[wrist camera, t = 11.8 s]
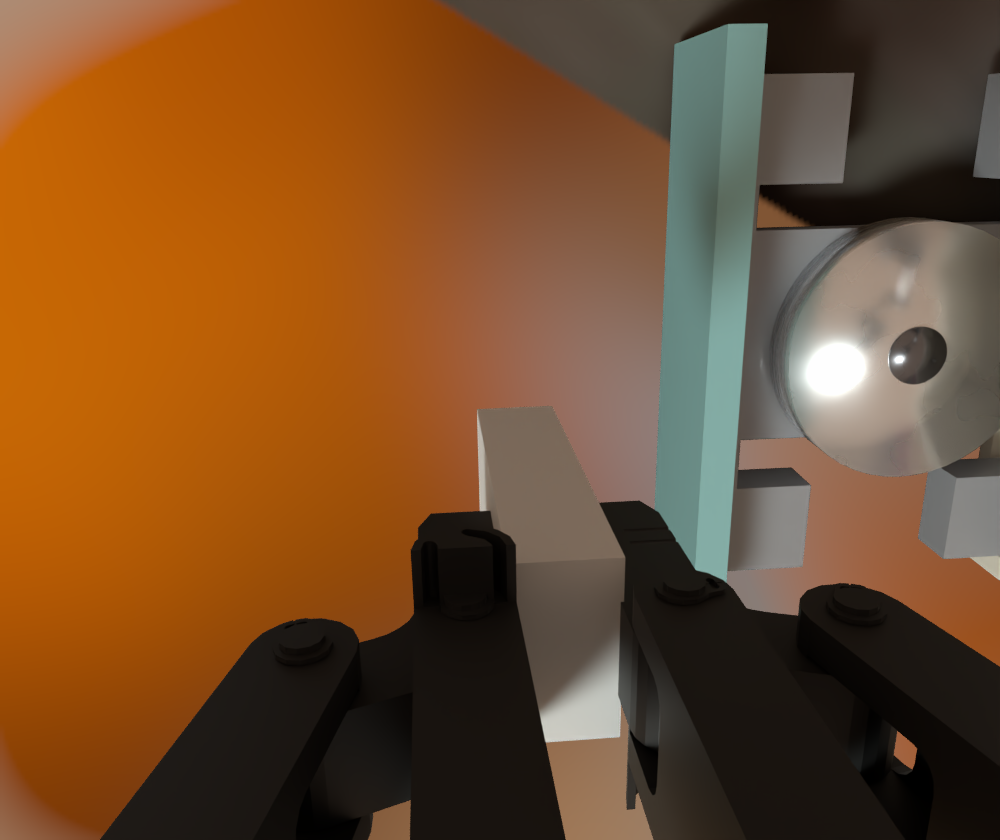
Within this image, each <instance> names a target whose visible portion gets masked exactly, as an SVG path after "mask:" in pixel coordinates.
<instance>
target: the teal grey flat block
mask: <svg viewBox="0 0 1000 840" xmlns="http://www.w3.org/2000/svg"><path fill="white" fill-rule="evenodd" d="M767 29H768V24H727V25H724V26H721V27H719V28H716V29H714V30H711V31H708V32H706V33H703V34H700V35H698V36H695V37H693V38H690V39H687V40H685V41H682V42H679V43H677V44H675V48H674V71H673V94H672V118H671V141H670V164H669V165H670V166H669V188H668V211H667V234H666V258H665V280H664V305H663V327H662V350H661V351H662V352H661V373H660V397H659V420H658V445H657V467H656V490H655V510H656V511H657V512H659V513H660V515H661V516H662V518H663V519H664V521H665V522H666V524H667V526H668V529H669V530H671V532H672V533H673V535H674V537H675V538H676V542H678V543H679V544H680V546H681V548H682V549H683V551H684V552H685V554H686V556H687V557H688V559H689V560H690V562H691V563H692V565H693V567H694V568H695V570H697V571H702V572H706V573H709V574H711V575H713V576H716V577H718V578H720V579H722V580H724V581H725V582H726V580H727V579H726V578H727V571H736V570H755V569H772V568H788V567H789V568H790V567H802V565H803V556H804V555H803V554H804V546H805V537H806V536H805V535H806V527H807V517H808V508H809V499H810V498H809V497H810V489H811V485H810V484H809V483H808V482H807V481H805V480H804V479H803V478H802V477H801V476H800V475H799V474H798V473H797V472H796V471H795V470H793V469H792V468H773V469H772V468H771V469H750V470H738V465H739V452H740V440H753V439H775V438H796V437H804V436H803V435H802V434H801V433H800V432H799V431H798V430H797V429H796V428H795V427H794V426H793V424H792V423H791V422H790V421H789V420H788V418H787V417H786V415H785V413H784V412H783V410H782V408H781V407H780V404H779V402H778V400H777V397H776V395H775V392H774V388H773V384H772V380H771V374H770V365H769V357H770V342H771V336H772V330H773V327H774V323H775V320H776V316H777V314H778V311H779V309H780V306H781V304H782V302H783V300H784V298H785V296H786V294H787V292H788V291H789V289H790V287H791V285H792V284H793V282H794V281H795V280H796V278H797V277H798V276H799V274H800V273H801V271H802V270H803V269H804V268H805V267H806V266H807V265H808V264H809V263H810V262H811V260H812V259H813V258H814V257H815V256H817V255H818V254H819V253H820V252H821V251H822V250H824V249H825V248H826V247H827V246H828V245H830V244H831V243H833V242H834V241H836V240H837V239H839V238H840V237H842V236H844V235H845V234H847V233H849V232H851V231H853V230H855V229H857V228H859V227H862V226H865V225H845V226H808V227H772V228H757V214H758V213H757V212H758V201H759V188H760V185H779V184H821V183H843V176H844V167H845V157H846V148H847V138H848V129H849V119H850V110H851V100H852V91H853V81H854V73H808V74H764V69H765V56H766V42H767ZM973 177H982V178H996V179H1000V73H996V74H988V80H987V87H986V93H985V100H984V106H983V113H982V120H981V126H980V133H979V139H978V146H977V153H976V159H975V166H974V172H973ZM955 223H958V224H963V225H969V226H972V227H974V228H977V229H980V230H983V231H985V232H987V233H989V234H991V235H992V236H994V237H996V238H998V239H999V240H1000V221H992V222H955ZM918 539H920V540H921V541H922V542H923V543H925V544H926V545H927V546H928V547H929V548H931V549H932V550H933V551H934V552H936V553H937V554H938V555H939V556H940V557H942V558H943V559H950V558H967V557H986V556H1000V458H980V459H959V460H957V461H955V462H953V463H951V464H949V465H947V466H944V467H941V468H939V469H936V470H933V471H930V472H928V476H927V482H926V489H925V496H924V502H923V509H922V515H921V522H920V529H919V535H918Z"/></svg>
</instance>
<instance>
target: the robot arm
mask: <svg viewBox="0 0 1000 840" xmlns="http://www.w3.org/2000/svg"><path fill="white" fill-rule="evenodd" d="M477 425H478V458H479V459H478V460H479V493H480V494H479V496H480V511H474V512H455V513H436V514H430V515H429V516H428V518H427V519H426V520H425V521H424V522H423V523H422V524H421V525H420V526H419V528H418V540H416V541H415V543H414V545H413V547H412V549H411V562H412V580H413V599H414V615H413V616H412V617H411V619H410V620H409V621H408V622H407V623H405V624H404V625H403V626H402V627H400V628H399V629H397V630H395V631H393V632H391V633H389V634H387V635H384V636H381V637H378V638H375V639H372V640H368V641H364V642H360V643H359V639H358V637H357V635H356V634H355V632H354V630H353V629H352V628H350V627H348V626H346V625H345V624H343V623H341V622H337V621H333V620H327V619H322V618H321V619H308V618H305V619H298V620H295V621H293V620H292V621H289V622H286V623H283V624H281V625H278V626H276V627H274V628H272V629H270V630H268V631H266V632H264V633H262V634H261V635H260V636H259V637H258V638H257V639H255V640H254V641H253V642H252V643H251V644H250V645H249V647H248V648H247V649H246V650H245V652H244V653H243V654H242V656H241V657H240V658H239V659H238V661H237V662H236V663H235V665H234V666H233V667H232V669H231V670H230V671H229V672H228V674H227V675H226V676H225V678H224V679H223V680H222V682H221V683H220V684H219V685H218V687H217V688H216V689H215V691H214V692H213V693H212V695H211V696H210V697H209V698H208V700H207V701H206V702H205V704H204V705H203V706H202V708H201V709H200V710H199V712H198V713H197V714H196V715H195V717H194V718H193V719H192V721H191V722H190V723H189V724H188V726H187V727H186V728H185V730H184V731H183V732H182V734H181V735H180V736H179V737H178V739H177V740H176V741H175V743H174V744H173V745H172V747H171V748H170V749H169V751H168V752H167V753H166V755H165V756H164V757H163V758H162V760H161V761H160V762H159V763H158V765H157V766H156V767H155V769H154V770H153V771H152V773H151V774H150V775H149V777H148V778H147V779H146V780H145V782H144V783H143V784H142V786H141V787H140V788H139V790H138V791H137V792H136V793H135V795H134V796H133V797H132V799H131V800H130V801H129V803H128V804H127V805H126V807H125V808H124V809H123V810H122V812H121V813H120V814H119V816H118V817H117V818H116V819H115V821H114V822H113V823H112V825H111V826H110V827H109V829H108V830H107V831H106V833H105V834H104V835H103V836H102V838H101V839H100V840H368V838H369V835H370V833H371V827H372V820H373V813H374V812H377V811H380V810H382V809H385V808H388V807H391V806H394V805H397V804H400V803H403V802H406V801H409V800H411V817H410V818H411V819H410V820H411V821H410V840H566V839H565V834H564V829H563V825H562V819H561V815H560V810H559V805H558V800H557V796H556V790H555V786H554V781H553V776H552V771H551V766H550V762H549V757H548V752H547V747H546V742H556V741H570V740H585V739H599V738H610V737H611V738H612V737H620V718H621V716H620V714H621V705H622V708H623V711H624V713H625V716H626V719H627V722H628V725H629V732H628V762H627V791H626V800H627V810H628V809H635V799H636V794H637V793H639V796H640V799H641V802H642V805H643V808H644V811H645V814H646V817H647V821H648V824H649V827H650V830H651V833H652V836H653V839H654V840H1000V667H999V666H998V665H996V664H995V663H993V662H992V661H990V660H989V659H987V658H986V657H984V656H982V655H981V654H979V653H978V652H976V651H975V650H973V649H972V648H970V647H969V646H967V645H966V644H964V643H963V642H961V641H959V640H958V639H956V638H955V637H953V636H952V635H950V634H948V633H947V632H945V631H944V630H943V629H941V628H939V627H938V626H936V625H935V624H933V623H932V622H930V621H929V620H927V619H926V618H924V617H923V616H921V615H920V614H918V613H916V612H915V611H913V610H912V609H910V608H909V607H907V606H906V605H904V604H903V603H901V602H899V601H898V600H896V599H894V598H892V597H890V596H888V595H886V594H884V593H882V592H879V591H875V590H872V589H868V588H866V587H864V586H861V585H855V584H851V585H849V584H846V583H839V584H833V585H821V586H818V587H815V588H813V589H810V590H807V591H806V592H805V594H804V595H803V596H802V597H801V598H800V604H799V613H798V616H796V615H787V614H778V613H770V612H763V611H757V610H751V609H747V608H746V607H745V606H744V604H743V603H742V602H741V600H740V598H739V597H738V596H737V594H736V593H735V591H734V590H733V588H731V587H730V586H729V585H728V584H727V583H726V582H725V581H724V580H722V579H720V578H718V577H716V576H713V575H711V574H709V573H706V572H702V571H697V570H695V568H694V567H693V565H692V563H691V562H690V560H689V559H688V557H687V556H686V554H685V552H684V551H683V549H682V548H681V546H680V544H679V543H678V542H676V538H675V537H674V535H673V533H672V532H671V530H669V529H668V526H667V524H666V522H665V521H664V519H663V518H662V516H661V515H660V513H659V512H657V511H656V510H654V509H652V508H651V507H649V506H647V505H646V504H644V503H642V502H640V501H625V502H605V503H599V502H598V500H597V498H596V496H595V494H594V492H593V490H592V488H591V486H590V483H589V481H588V479H587V478H586V475H585V473H584V471H583V469H582V467H581V465H580V463H579V461H578V459H577V457H576V455H575V453H574V451H573V448H572V446H571V444H570V442H569V440H568V438H567V436H566V434H565V432H564V430H563V428H562V426H561V424H560V422H559V420H558V418H557V415H556V414H555V411H554V409H553V407H552V406H542V407H519V408H495V409H477ZM897 731H898V732H900V733H901V734H902V735H903V736H904V737H906V738H907V739H908V740H909V741H910V742H912V743H913V744H914V745H915V747H916V748H917V753H916V760H915V765H914V767H913V770H912V769H910V768H909V767H907V766H906V765H904V764H903V763H902V762H901V761H900V760H899V759H897V758H896V757H895V756H894V749H895V742H896V735H897Z"/></svg>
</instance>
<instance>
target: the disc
mask: <svg viewBox="0 0 1000 840" xmlns="http://www.w3.org/2000/svg"><path fill="white" fill-rule="evenodd" d="M769 365H770V374H771V380H772V384H773V388H774V392H775V395H776V397H777V400H778V402H779V404H780V407H781V408H782V410H783V412H784V413H785V415H786V417H787V418H788V420H789V421H790V422H791V423H792V424H793V426H794V427H795V428H796V429H797V430H798V431H799V432H800V433H801V434H802V435H803V436H804V437H806V438H807V439H808V440H809V441H811V442H812V443H813V444H814V445H816V446H817V447H818V448H819V449H821V450H822V451H823V452H824V453H826V454H827V455H828V456H830V457H831V458H833V459H834V460H836V461H837V462H839V463H840V464H843V465H845V466H847V467H849V468H851V469H854V470H856V471H860V472H864V473H867V474H871V475H878V476H892V477H898V476H899V477H900V476H909V475H917V474H921V473H925V472H930V471H933V470H936V469H939V468H941V467H944V466H947V465H949V464H951V463H953V462H955V461H957V460H959V459H961V458H963V457H964V456H966V455H967V454H969V453H971V452H972V451H974V450H976V449H977V448H978V447H979V446H981V445H982V444H983V443H985V442H986V441H987V440H988V439H990V438H991V437H992V436H993V435H994V434H995V433H996V432H997V431H998V430H999V429H1000V240H999V239H998V238H996V237H994V236H992V235H991V234H989V233H987V232H985V231H983V230H980V229H977V228H974V227H972V226H969V225H963V224H958V223H953V222H947V221H941V220H934V219H928V218H921V217H899V218H889V219H885V220H881V221H876V222H873V223H870V224H867V225H865V226H862V227H859V228H857V229H855V230H853V231H851V232H849V233H847V234H845V235H844V236H842V237H840V238H839V239H837V240H836V241H834V242H833V243H831V244H830V245H828V246H827V247H826V248H825V249H824V250H822V251H821V252H820V253H819V254H818V255H817V256H815V257H814V258H813V259H812V260H811V262H810V263H809V264H808V265H807V266H806V267H805V268H804V269H803V270H802V271H801V273H800V274H799V276H798V277H797V278H796V280H795V281H794V282H793V284H792V285H791V287H790V289H789V291H788V292H787V294H786V296H785V298H784V300H783V302H782V304H781V306H780V309H779V311H778V314H777V316H776V320H775V323H774V327H773V330H772V336H771V342H770V357H769Z"/></svg>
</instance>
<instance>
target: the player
mask: <svg viewBox="0 0 1000 840" xmlns="http://www.w3.org/2000/svg"><path fill="white" fill-rule="evenodd" d="M980 458H1000V429H999V430H998V431H997V432H996V433H995V434H994V435H993V436H992V437H991V438H990V439H988V440H987V441H986V442H985V443H983V444H982V445H981V446H980V452H979V458H978V459H980ZM970 558H971V559H973V560H974V561H975V562H977V563H978V564H979V565H980V566H982V567H983V568H984V569H986V570H987V571H988V572H989V573H991V574H992V575H993V576H995V577H996V578H997V579H998V580H1000V556H986V557H970Z"/></svg>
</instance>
